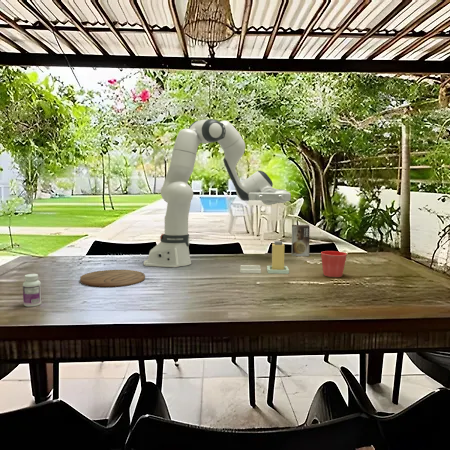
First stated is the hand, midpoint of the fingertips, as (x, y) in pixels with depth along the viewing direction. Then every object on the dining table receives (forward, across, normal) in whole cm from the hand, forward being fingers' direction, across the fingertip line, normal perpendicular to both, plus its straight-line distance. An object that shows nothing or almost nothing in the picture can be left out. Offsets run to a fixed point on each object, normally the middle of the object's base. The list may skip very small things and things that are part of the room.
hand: (270, 197), depth 207 cm
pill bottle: (+74, -79, +32) cm, 113 cm away
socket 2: (+16, +3, +32) cm, 36 cm away
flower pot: (+22, +26, +32) cm, 47 cm away
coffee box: (-27, +18, +32) cm, 46 cm away
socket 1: (+16, -9, +32) cm, 37 cm away
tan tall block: (+16, +3, +32) cm, 36 cm away
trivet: (+38, -64, +32) cm, 81 cm away
